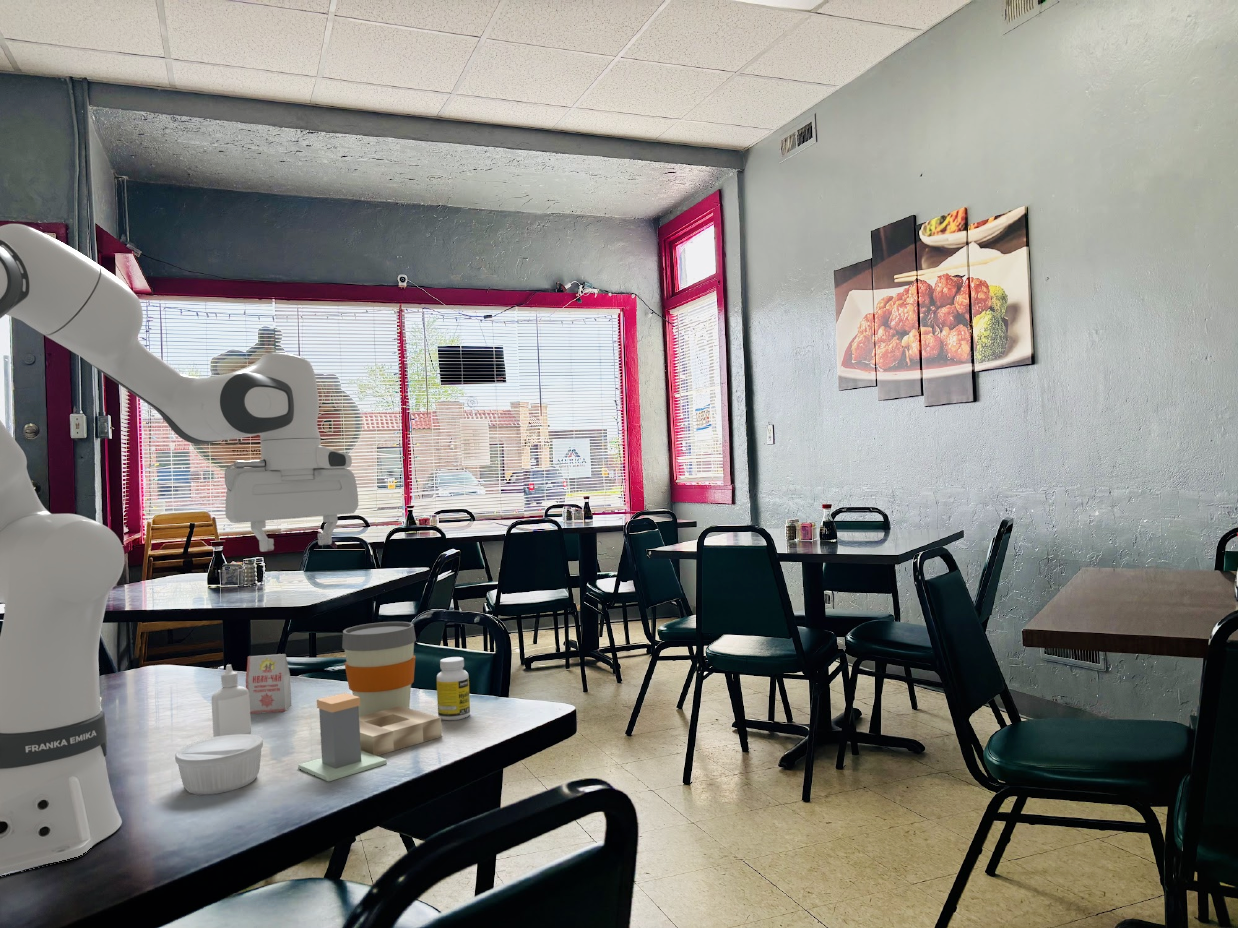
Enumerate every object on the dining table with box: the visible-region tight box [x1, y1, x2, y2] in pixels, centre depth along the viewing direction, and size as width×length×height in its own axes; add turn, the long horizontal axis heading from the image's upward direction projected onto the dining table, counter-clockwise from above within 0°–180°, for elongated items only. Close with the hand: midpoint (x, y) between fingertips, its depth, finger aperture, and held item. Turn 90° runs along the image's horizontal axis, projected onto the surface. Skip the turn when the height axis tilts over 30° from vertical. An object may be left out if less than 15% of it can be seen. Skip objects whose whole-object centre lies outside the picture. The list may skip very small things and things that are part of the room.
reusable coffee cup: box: [341, 621, 417, 717], centre depth 157 cm, size 13×13×15 cm
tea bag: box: [245, 653, 293, 715], centre depth 164 cm, size 4×7×10 cm, turn 93°
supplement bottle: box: [436, 656, 471, 721], centre depth 152 cm, size 5×5×10 cm
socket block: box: [359, 706, 443, 757], centre depth 141 cm, size 12×12×3 cm
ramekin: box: [174, 734, 264, 795], centre depth 125 cm, size 11×11×5 cm
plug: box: [316, 692, 361, 769], centre depth 129 cm, size 4×4×9 cm
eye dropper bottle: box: [211, 664, 252, 737], centre depth 147 cm, size 4×6×12 cm
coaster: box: [297, 750, 388, 782], centre depth 129 cm, size 9×9×1 cm
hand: (296, 547), depth 139 cm, fingers open, 8 cm apart
